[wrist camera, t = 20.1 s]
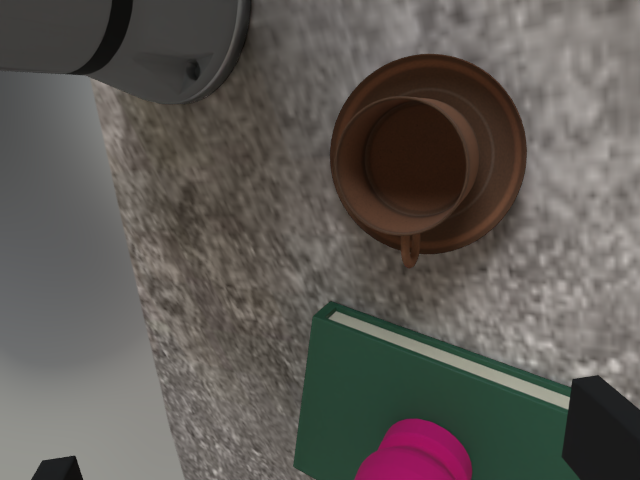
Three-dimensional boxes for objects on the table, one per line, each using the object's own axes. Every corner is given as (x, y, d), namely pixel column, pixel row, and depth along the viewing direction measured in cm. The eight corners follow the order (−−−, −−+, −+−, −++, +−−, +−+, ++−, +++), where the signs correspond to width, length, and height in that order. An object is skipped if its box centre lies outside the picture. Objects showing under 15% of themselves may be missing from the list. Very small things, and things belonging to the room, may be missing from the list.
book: (309, 443, 40) (292, 467, 38) (330, 300, 35) (312, 316, 32) (548, 567, 32) (547, 607, 30) (622, 405, 27) (629, 437, 24)
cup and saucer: (556, 215, 26) (556, 244, 20) (378, 264, 32) (342, 296, 27) (488, 17, 25) (470, -6, 19) (317, 108, 31) (268, 109, 26)
